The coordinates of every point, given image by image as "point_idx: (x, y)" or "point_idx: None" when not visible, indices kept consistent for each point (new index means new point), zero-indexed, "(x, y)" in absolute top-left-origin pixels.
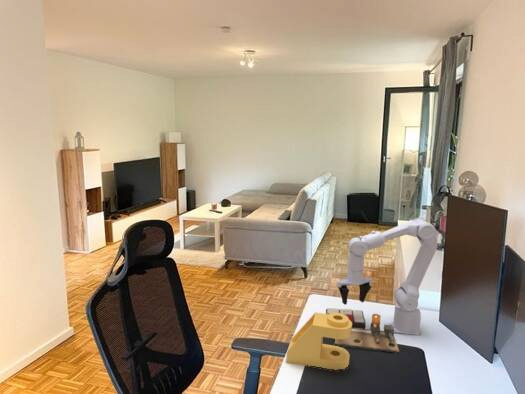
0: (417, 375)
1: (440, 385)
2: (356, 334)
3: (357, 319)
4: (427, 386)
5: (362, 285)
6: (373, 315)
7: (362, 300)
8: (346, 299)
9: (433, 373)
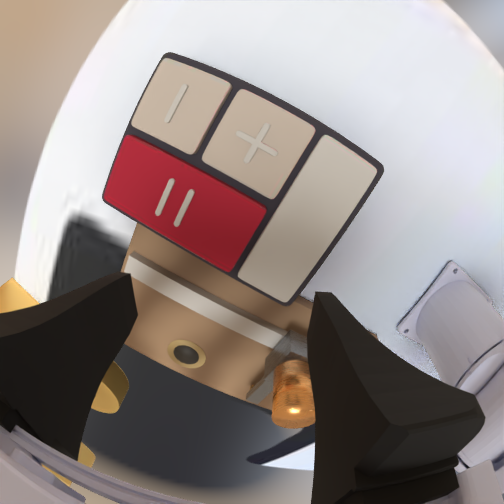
0: (268, 449)
1: (287, 464)
2: (209, 321)
3: (266, 266)
4: (260, 462)
5: (336, 485)
6: (280, 413)
7: (308, 350)
8: (108, 357)
9: (307, 451)
